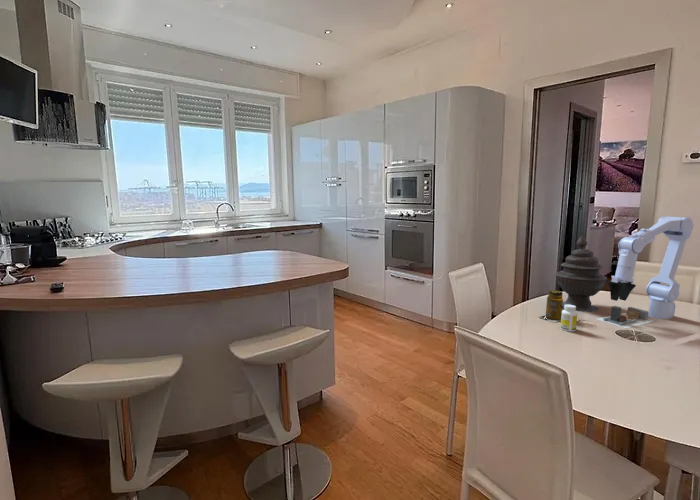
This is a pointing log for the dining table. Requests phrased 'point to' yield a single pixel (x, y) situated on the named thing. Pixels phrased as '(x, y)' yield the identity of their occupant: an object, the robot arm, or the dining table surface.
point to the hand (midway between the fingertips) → (618, 300)
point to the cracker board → (630, 323)
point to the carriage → (617, 315)
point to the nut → (632, 314)
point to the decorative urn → (581, 278)
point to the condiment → (554, 306)
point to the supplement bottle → (569, 318)
